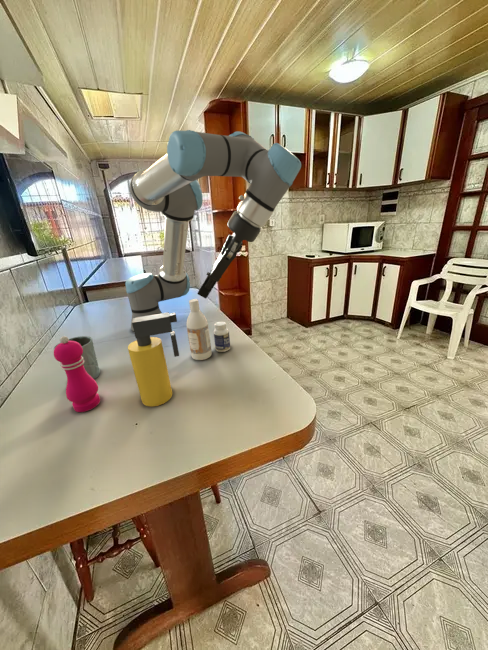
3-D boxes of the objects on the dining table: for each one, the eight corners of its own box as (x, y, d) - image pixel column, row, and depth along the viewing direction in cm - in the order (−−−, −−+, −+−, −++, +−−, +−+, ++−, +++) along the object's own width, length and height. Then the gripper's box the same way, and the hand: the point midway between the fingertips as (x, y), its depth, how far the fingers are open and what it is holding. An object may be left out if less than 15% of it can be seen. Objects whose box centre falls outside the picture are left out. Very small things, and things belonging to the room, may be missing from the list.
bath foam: (187, 358, 91) (177, 302, 83) (200, 349, 96) (192, 296, 89) (203, 362, 87) (195, 304, 80) (215, 353, 93) (208, 298, 85)
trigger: (173, 351, 71) (169, 331, 68) (178, 351, 71) (174, 330, 69) (174, 356, 68) (170, 335, 66) (179, 356, 68) (175, 334, 66)
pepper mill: (68, 416, 67) (39, 345, 59) (76, 399, 73) (51, 333, 66) (99, 409, 69) (75, 339, 61) (104, 393, 75) (83, 328, 68)
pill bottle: (227, 353, 92) (224, 327, 89) (213, 351, 94) (209, 326, 90) (232, 346, 97) (230, 321, 93) (219, 344, 99) (216, 320, 95)
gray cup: (104, 365, 90) (94, 333, 86) (100, 381, 81) (89, 346, 77) (70, 373, 87) (58, 340, 83) (63, 390, 78) (48, 354, 74)
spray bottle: (142, 391, 75) (122, 316, 66) (187, 381, 78) (174, 308, 69) (141, 409, 67) (119, 328, 59) (191, 397, 71) (176, 318, 62)
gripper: (236, 204, 66) (194, 278, 78) (233, 215, 55) (184, 299, 67) (261, 221, 68) (216, 291, 80) (263, 235, 57) (210, 313, 69)
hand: (202, 295), depth 73 cm, fingers closed
